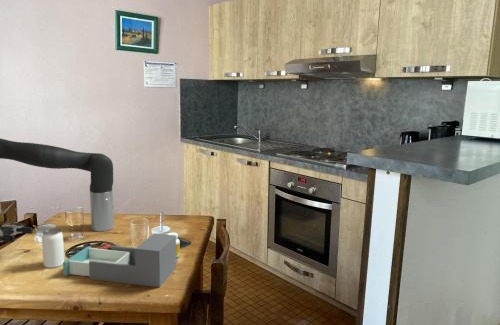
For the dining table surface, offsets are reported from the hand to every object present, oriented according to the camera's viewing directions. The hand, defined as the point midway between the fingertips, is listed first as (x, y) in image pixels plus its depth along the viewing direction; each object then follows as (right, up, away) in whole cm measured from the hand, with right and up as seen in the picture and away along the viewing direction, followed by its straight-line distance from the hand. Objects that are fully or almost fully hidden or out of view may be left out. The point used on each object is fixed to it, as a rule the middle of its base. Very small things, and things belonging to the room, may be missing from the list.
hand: (23, 234), depth 137 cm
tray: (+29, -11, -3) cm, 31 cm away
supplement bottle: (+51, -11, +7) cm, 52 cm away
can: (+11, -11, 0) cm, 15 cm away
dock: (+41, -12, -5) cm, 43 cm away
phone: (+48, -8, +24) cm, 54 cm away
